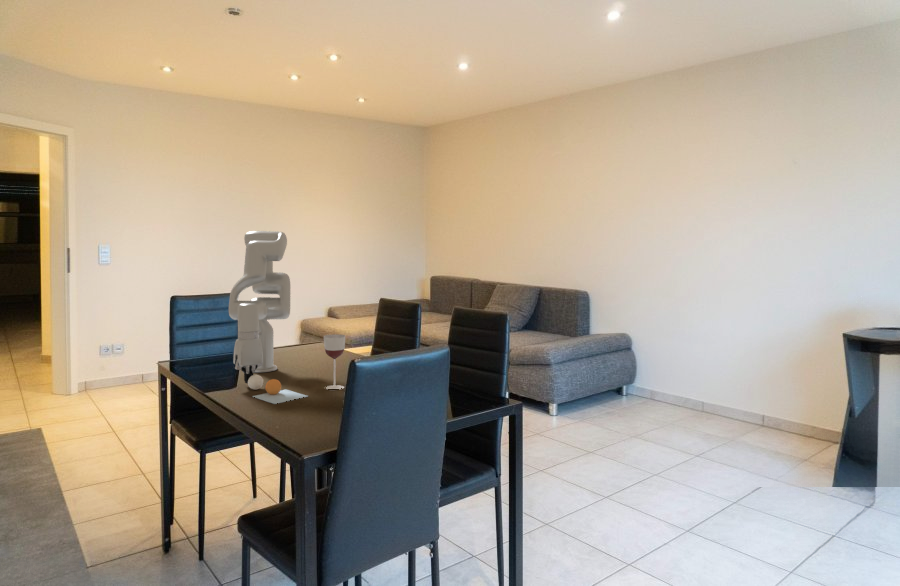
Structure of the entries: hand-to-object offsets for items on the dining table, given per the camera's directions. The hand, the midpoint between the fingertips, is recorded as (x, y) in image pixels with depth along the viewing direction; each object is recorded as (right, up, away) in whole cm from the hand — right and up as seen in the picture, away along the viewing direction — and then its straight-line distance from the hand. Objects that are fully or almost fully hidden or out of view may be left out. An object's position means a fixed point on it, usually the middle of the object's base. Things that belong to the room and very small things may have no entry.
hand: (248, 382), depth 221 cm
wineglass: (+32, -2, +2) cm, 33 cm away
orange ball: (+13, 0, -11) cm, 17 cm away
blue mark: (+16, -3, -13) cm, 21 cm away
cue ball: (+4, +1, -4) cm, 6 cm away
